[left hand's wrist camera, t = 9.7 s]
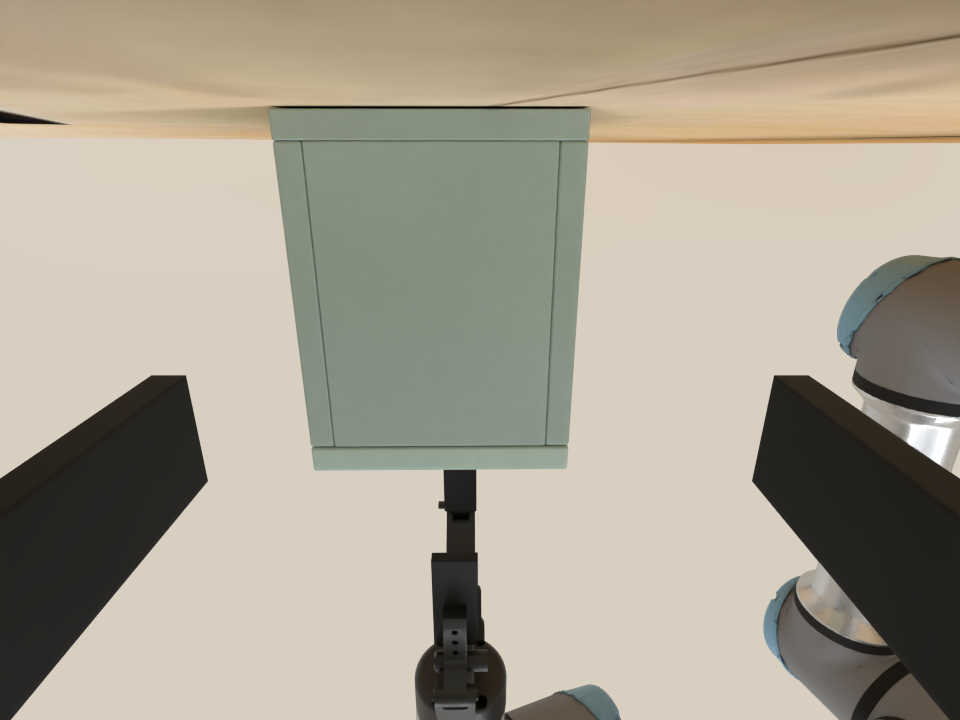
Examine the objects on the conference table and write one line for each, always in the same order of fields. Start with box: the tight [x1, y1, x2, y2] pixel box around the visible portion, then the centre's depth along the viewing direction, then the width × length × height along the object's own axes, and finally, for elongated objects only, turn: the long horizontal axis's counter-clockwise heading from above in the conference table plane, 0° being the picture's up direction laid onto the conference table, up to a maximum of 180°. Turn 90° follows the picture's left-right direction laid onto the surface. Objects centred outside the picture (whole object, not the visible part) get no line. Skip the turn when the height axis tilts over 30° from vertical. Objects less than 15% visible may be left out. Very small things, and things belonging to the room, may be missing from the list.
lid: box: [312, 443, 568, 471], centre depth 29 cm, size 18×9×8 cm, turn 179°
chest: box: [268, 108, 591, 446], centre depth 26 cm, size 18×9×11 cm, turn 179°
